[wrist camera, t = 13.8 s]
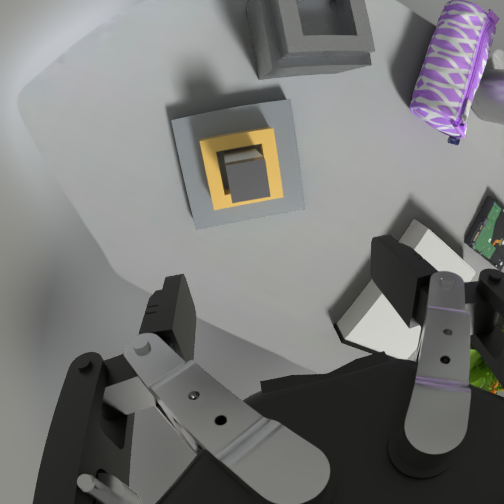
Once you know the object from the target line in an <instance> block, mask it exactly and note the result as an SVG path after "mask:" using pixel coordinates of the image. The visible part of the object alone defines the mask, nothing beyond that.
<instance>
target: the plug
mask: <svg viewBox="0 0 504 504" xmlns="http://www.w3.org/2000/svg"><path fill="white" fill-rule="evenodd" d="M224 158H225V167H226V172H227V177H228V183H229V188H230V194H231V199H232V203H237V202H243V201H248V200H254V199H260V198H265V197H271V195H270V188H269V181H268V175H267V168H266V161H265V158H264V157H263V156H262V155H261V154H260V153H259V152H258V151H257V150H256V149H255V148H248V149H242V150H237V151H231V152H225V153H224Z"/></svg>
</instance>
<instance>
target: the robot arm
mask: <svg viewBox="0 0 504 504" xmlns="http://www.w3.org/2000/svg"><path fill="white" fill-rule="evenodd" d="M471 107H472V109H473V111H474V113H475V114H476V115H477V116H478V117H479V118H480V119H482V120H484V121H489V122H494V123H499V124H503V125H504V69H484V72H483V75H482V78H481V80H480V82H479V86H478V88H477V90H476V92H475V95H474V98H473V101H472V104H471ZM371 276H372V279H373V281H374V283H375V284H376V286H377V287H378V288H379V290H380V291H381V292H382V293H383V295H384V296H385V297H386V299H387V300H388V301H389V302H390V304H391V305H392V306H393V308H394V309H395V310H396V312H397V313H398V314H399V316H400V317H401V318H402V320H403V321H404V322H405V324H406V325H407V326H408V328H409V329H410V328H413V327H416V326H419V325H420V326H421V330H420V335H419V340H418V345H417V350H416V355H415V360H414V361H411V360H406V359H389V358H388V357H387V355H386V353H385V352H384V351H382V352H379V353H376V354H372V355H369V356H366V357H362V358H359V359H356V360H354V361H352V362H350V363H348V364H346V365H344V366H342V367H340V368H338V369H336V370H334V371H332V372H330V373H327V374H313V375H290V376H286V377H281V378H276V379H271V380H266V381H260V383H261V390H262V391H260V392H257V393H255V394H253V395H251V396H249V397H248V398H246V399H245V400H243V401H242V400H241V399H239V398H238V397H237V396H236V395H234V394H233V393H232V392H231V391H229V390H228V389H227V388H226V387H224V386H223V385H222V384H221V383H219V382H218V381H217V380H216V379H215V378H213V377H212V376H211V375H210V374H209V373H207V372H206V371H205V370H204V369H203V368H201V367H200V366H199V365H198V364H197V363H196V362H194V361H193V358H194V342H195V329H196V311H195V306H194V303H193V300H192V297H191V294H190V290H189V287H188V284H187V281H186V278H185V276H184V274H179V275H174V276H169V277H166V278H165V281H164V285H163V289H162V290H157V291H155V292H154V294H153V295H152V296H151V297H150V298H149V301H148V304H147V308H146V311H145V315H144V318H143V321H142V324H141V328H140V331H139V335H137V336H135V337H133V338H132V339H131V340H129V341H128V342H127V343H126V345H125V346H124V349H123V354H122V355H119V356H117V357H114V358H111V359H108V360H105V361H104V360H103V359H102V357H101V355H99V354H98V353H95V352H88V353H85V354H82V355H80V356H79V357H77V358H76V359H75V360H74V361H73V362H72V363H71V365H70V367H69V370H68V372H67V375H66V378H65V381H64V384H63V387H62V390H61V393H60V396H59V399H58V402H57V405H56V409H55V412H54V415H53V419H52V422H51V425H50V429H49V433H48V437H47V440H46V444H45V448H44V452H43V456H42V461H41V464H40V469H39V474H38V479H37V483H36V489H35V494H34V500H33V504H142V501H141V499H140V497H139V495H138V494H137V493H136V492H135V491H133V490H132V489H131V488H129V474H130V459H131V458H130V457H131V446H132V435H133V425H134V415H135V412H137V411H140V410H142V409H145V408H148V407H151V406H155V407H156V408H157V409H158V411H159V412H160V413H161V414H162V415H163V417H164V418H165V419H166V420H167V421H168V423H169V424H170V425H171V426H172V427H173V428H174V429H175V431H176V432H177V433H178V434H179V435H180V436H181V437H182V439H183V440H184V441H185V442H186V443H187V445H188V446H189V447H190V448H191V449H192V451H193V452H194V453H195V454H196V455H197V456H196V457H195V458H194V459H193V461H192V462H191V463H190V464H189V466H188V467H187V468H186V469H185V470H184V472H183V473H182V474H181V475H180V476H179V477H178V479H177V480H176V481H175V482H174V483H173V485H172V486H171V487H170V488H169V489H168V490H167V491H166V492H165V494H164V495H163V496H162V497H161V498H160V499H159V500H158V501H157V503H156V504H504V397H501V396H499V395H496V394H494V393H491V392H489V391H486V390H484V389H481V388H479V387H476V386H474V385H471V384H469V368H470V342H471V343H472V344H473V346H474V347H475V348H476V350H477V351H478V353H479V354H480V355H481V357H482V358H483V360H484V361H485V362H486V364H487V365H488V367H489V368H490V370H491V371H492V372H493V374H494V375H495V377H496V378H497V380H498V381H499V383H500V384H501V386H502V387H503V389H504V332H503V331H502V330H501V329H500V328H499V326H498V325H497V324H496V323H497V320H498V318H499V315H501V316H502V317H503V318H504V273H503V272H501V271H499V270H496V269H485V270H482V271H481V272H480V275H479V280H478V281H477V282H464V281H463V279H462V278H461V277H460V276H459V275H457V274H456V273H453V272H449V271H438V270H437V269H435V268H434V267H433V266H432V265H431V264H430V263H429V262H428V261H426V260H425V259H423V257H422V256H421V255H420V254H418V253H417V252H416V251H415V250H414V249H413V248H412V247H410V246H407V245H405V244H403V243H399V242H398V241H397V240H396V239H394V238H393V237H392V236H391V235H389V234H388V235H383V236H378V237H374V238H373V239H372V242H371Z"/></svg>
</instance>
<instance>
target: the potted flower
mask: <svg viewBox="0 0 504 504" xmlns="http://www.w3.org/2000/svg"><path fill="white" fill-rule="evenodd" d="M499 328H500V327H499ZM500 329H501V330H502V328H500ZM502 331H503V332H504V330H502ZM472 346H473V344H472ZM473 348H474V349H470V368H469V384H471V385H474V386H476V387H479V388H480V387H481V386H482V387H481V389H484V390H486V391H489V392H491V393H494V394H497V391H499V390H500V391H504V389H503V387H502V386H500V383H499V381H498V380H497V378H496V377H495V375H494V374H493V372H492V371H491V370H490V368H489V367H488V365H487V364H486V362H485V361H484V360H483V358H482V357H481V355H480V354H479V353H478V351H477V350H476V348H475V347H474V346H473Z"/></svg>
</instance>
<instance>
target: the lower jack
mask: <svg viewBox="0 0 504 504" xmlns="http://www.w3.org/2000/svg"><path fill="white" fill-rule="evenodd" d="M171 122H172V127H173V132H174V136H175V141H176V146H177V150H178V155H179V160H180V164H181V169H182V173H183V177H184V182H185V186H186V190H187V195H188V199H189V203H190V207H191V211H192V215H193V219H194V223H195V227H196V230H198V229H203V228H208V227H213V226H218V225H223V224H228V223H233V222H238V221H244V220H249V219H254V218H260V217H265V216H270V215H276V214H281V213H287V212H292V211H298V210H304V209H305V206H304V197H303V188H302V179H301V171H300V163H299V155H298V148H297V140H296V133H295V126H294V119H293V113H292V106H291V100H290V99H288V100H279V101H272V102H264V103H257V104H251V105H244V106H238V107H232V108H227V109H221V110H216V111H211V112H206V113H201V114H197V115H192V116H188V117H183V118H179V119H175V120H171ZM248 148H255V149H256V150H257V151H258V152H259V153H260V154H261V155H262V156H263V157H264V158H265V161H266V168H267V175H268V181H269V188H270V195H271V197H265V198H260V199H254V200H248V201H243V202H237V203H232V199H231V194H230V188H229V183H228V177H227V172H226V167H225V158H224V153H225V152H231V151H237V150H242V149H248Z"/></svg>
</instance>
